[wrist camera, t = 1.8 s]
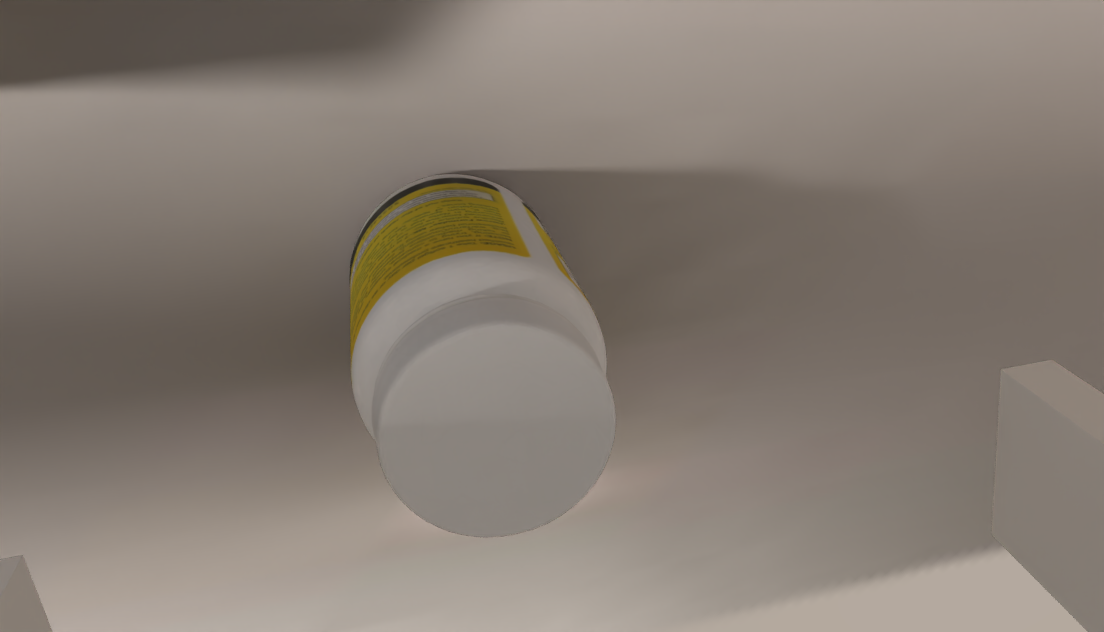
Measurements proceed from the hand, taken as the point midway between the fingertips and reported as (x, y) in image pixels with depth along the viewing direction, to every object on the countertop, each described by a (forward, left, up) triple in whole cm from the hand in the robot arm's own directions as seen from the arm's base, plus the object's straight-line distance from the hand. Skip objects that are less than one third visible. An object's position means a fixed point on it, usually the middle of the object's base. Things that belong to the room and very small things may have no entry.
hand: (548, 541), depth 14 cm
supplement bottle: (0, 0, -12) cm, 12 cm away
